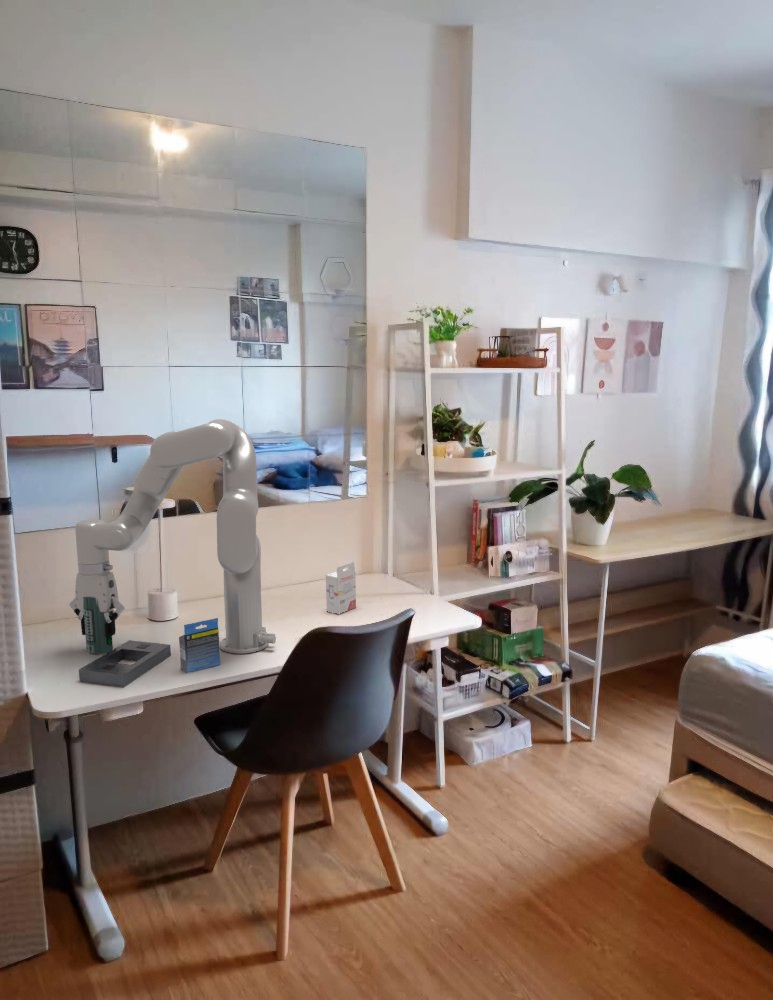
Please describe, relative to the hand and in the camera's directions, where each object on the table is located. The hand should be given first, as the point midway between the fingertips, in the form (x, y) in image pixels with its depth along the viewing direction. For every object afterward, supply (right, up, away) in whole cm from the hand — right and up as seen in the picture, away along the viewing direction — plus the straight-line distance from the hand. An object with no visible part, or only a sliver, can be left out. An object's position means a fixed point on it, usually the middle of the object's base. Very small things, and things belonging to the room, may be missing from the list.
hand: (98, 634), depth 196 cm
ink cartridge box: (+61, +1, +33) cm, 69 cm away
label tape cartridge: (+29, -6, -10) cm, 31 cm away
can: (0, -5, +1) cm, 5 cm away
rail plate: (+11, -6, -11) cm, 17 cm away
